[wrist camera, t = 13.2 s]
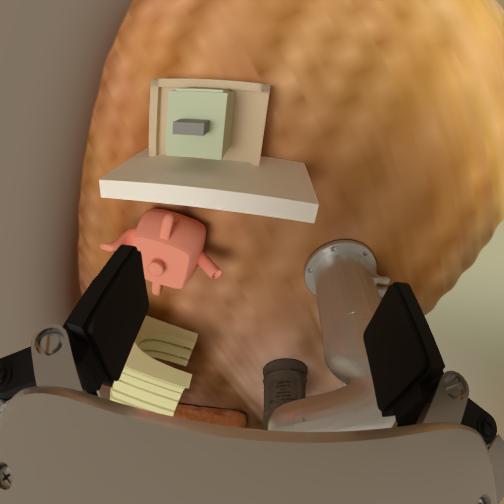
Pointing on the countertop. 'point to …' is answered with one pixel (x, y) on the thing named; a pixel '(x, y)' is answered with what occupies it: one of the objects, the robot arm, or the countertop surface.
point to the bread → (211, 415)
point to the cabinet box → (199, 122)
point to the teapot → (168, 248)
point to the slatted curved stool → (155, 368)
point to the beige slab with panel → (216, 163)
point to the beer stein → (282, 384)
